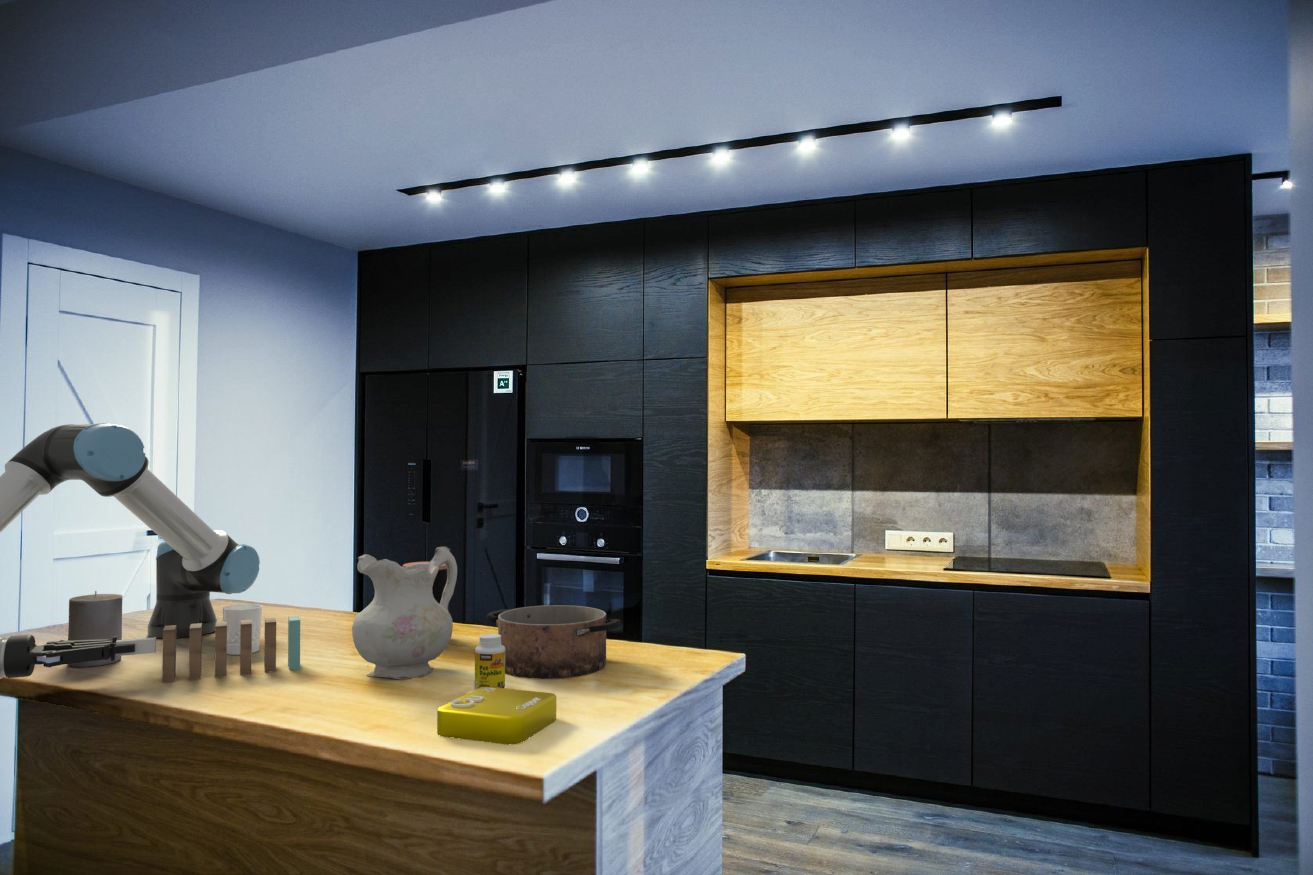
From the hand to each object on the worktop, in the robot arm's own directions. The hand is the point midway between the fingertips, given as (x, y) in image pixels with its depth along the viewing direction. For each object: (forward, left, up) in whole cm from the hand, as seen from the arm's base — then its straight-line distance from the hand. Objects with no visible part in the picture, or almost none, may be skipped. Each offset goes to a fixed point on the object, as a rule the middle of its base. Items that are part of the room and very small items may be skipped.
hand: (155, 644), depth 168 cm
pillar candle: (-23, -13, -7) cm, 27 cm away
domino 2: (0, +7, -7) cm, 10 cm away
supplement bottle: (+36, +56, -7) cm, 67 cm away
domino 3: (0, +11, -7) cm, 13 cm away
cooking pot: (+22, +73, -7) cm, 77 cm away
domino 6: (0, +25, -7) cm, 26 cm away
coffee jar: (-14, +54, -7) cm, 57 cm away
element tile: (+57, +52, -7) cm, 77 cm away
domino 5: (0, +20, -7) cm, 22 cm away
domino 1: (0, +2, -7) cm, 7 cm away
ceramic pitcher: (+14, +45, -7) cm, 48 cm away
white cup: (-20, +15, -7) cm, 26 cm away
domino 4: (0, +16, -7) cm, 17 cm away
